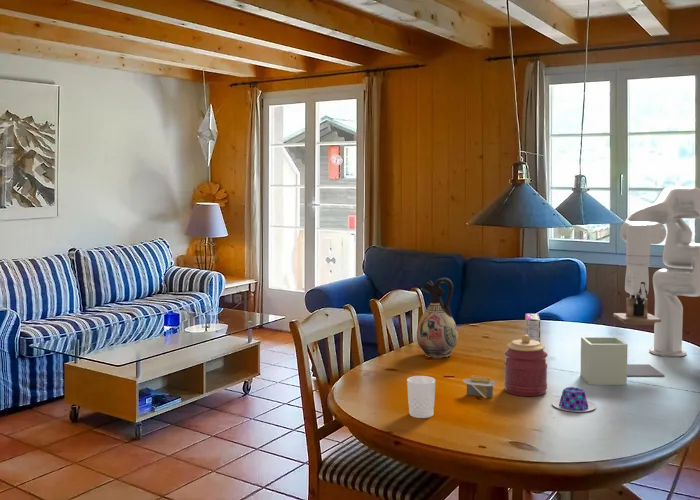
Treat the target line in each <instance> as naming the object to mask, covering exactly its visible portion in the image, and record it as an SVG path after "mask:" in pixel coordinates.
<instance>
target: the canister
mask: <svg viewBox="0 0 700 500" xmlns="http://www.w3.org/2000/svg"><path fill="white" fill-rule="evenodd" d="M506 347H507V349H506V350H505V351H504V352H503V353H504V355H505V361H504V364H503V365H504V381H503V383H504V384H503V386H504V390H505V391H506V393H509V394H511V395H515V396H520V397H536V396H542V395H545V394H546V393H547V389H548V382H547V381H548V380H547V379H548V378H547V375H548V373H547V372H548V371H547V369H548V363H547V359H546V358H547V357H548V353H547V352H546V351H545V348H546V346H545V345H544V344H543V343H541V341H540V342H539V341H536V340H530V337H529V335H525V334H523V335H522V336H521V339H513V340H512V341H511V342H509V343H507V344H506Z"/></svg>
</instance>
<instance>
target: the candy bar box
mask: <svg viewBox="0 0 700 500" xmlns="http://www.w3.org/2000/svg"><path fill="white" fill-rule="evenodd" d="M524 325H525V327H524V329H525V330H524V332H525V333H524V335H529V337H530V340H536V341H539V342H540V343H541V318H540V316H539V313H525V315H524Z"/></svg>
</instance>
